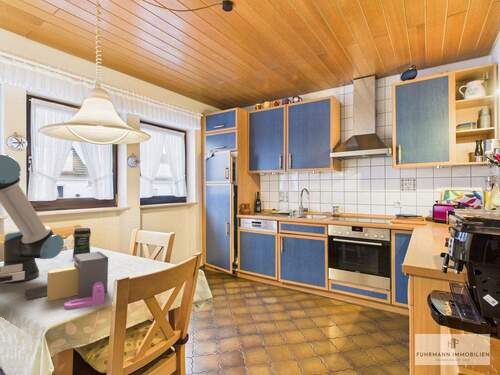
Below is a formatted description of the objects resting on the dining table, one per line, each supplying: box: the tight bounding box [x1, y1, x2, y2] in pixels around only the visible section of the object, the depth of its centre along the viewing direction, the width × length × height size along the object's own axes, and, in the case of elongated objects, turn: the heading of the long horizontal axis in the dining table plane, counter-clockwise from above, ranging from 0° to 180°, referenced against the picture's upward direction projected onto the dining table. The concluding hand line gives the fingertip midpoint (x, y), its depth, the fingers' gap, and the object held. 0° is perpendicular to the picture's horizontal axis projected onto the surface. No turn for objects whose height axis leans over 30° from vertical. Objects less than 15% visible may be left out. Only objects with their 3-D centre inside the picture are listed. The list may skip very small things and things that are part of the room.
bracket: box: [63, 282, 105, 310], centre depth 104 cm, size 13×6×7 cm, turn 122°
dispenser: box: [73, 251, 109, 299], centre depth 117 cm, size 14×11×15 cm
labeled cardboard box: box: [46, 266, 79, 302], centre depth 113 cm, size 4×16×11 cm, turn 133°
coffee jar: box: [72, 227, 92, 258], centre depth 175 cm, size 10×8×19 cm
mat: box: [24, 285, 47, 301], centre depth 117 cm, size 12×18×1 cm, turn 133°
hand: (23, 271), depth 102 cm, fingers open, 13 cm apart
